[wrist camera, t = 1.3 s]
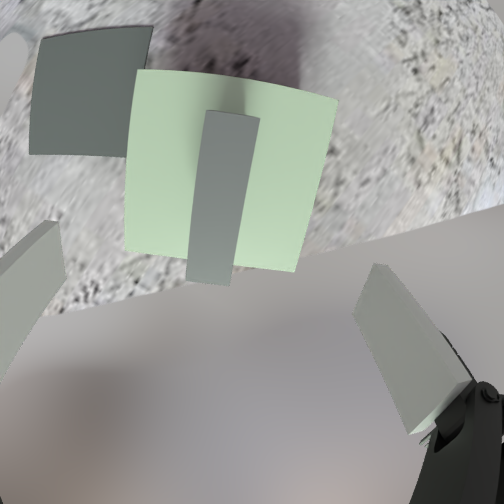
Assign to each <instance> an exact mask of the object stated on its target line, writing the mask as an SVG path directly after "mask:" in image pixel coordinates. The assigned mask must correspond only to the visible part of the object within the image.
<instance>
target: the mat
mask: <svg viewBox="0 0 504 504" xmlns="http://www.w3.org/2000/svg"><path fill="white" fill-rule="evenodd" d="M152 31H153V27H129V28H114V29H103V30H94V31H86V32H79V33H73V34H67V35H61V36H56V37H51V38H47V39H42V40H41V43H40V48H39V53H38V58H37V63H36V69H35V76H34V83H33V91H32V100H31V112H30V129H29V155H89V156H110V157H125V158H127V147H128V136H129V126H130V117H131V109H132V102H133V95H134V88H135V82H136V76H137V70H138V69H145V64H146V59H147V54H148V49H149V44H150V40H151V35H152Z"/></svg>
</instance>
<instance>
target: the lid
mask: <svg viewBox="0 0 504 504" xmlns="http://www.w3.org/2000/svg"><path fill="white" fill-rule="evenodd" d="M338 102H339V100H336V99H332V98H329V97H325V96H322V95H318V94H315V93H311V92H307V91H303V90H299V89H295V88H290V87H286V86H281V85H277V84H272V83H267V82H262V81H256V80H251V79H245V78H238V77H232V76H225V75H217V74H208V73H198V72H187V71H173V70H146V69H138V70H137V76H136V82H135V88H134V95H133V102H132V109H131V117H130V126H129V136H128V147H127V160H126V177H125V208H124V237H125V251H131V252H138V253H146V254H153V255H161V256H168V257H176V258H183V259H187V268H186V281H191V282H199V283H207V284H215V285H224V286H230V279H231V274H232V269H233V265H238V266H247V267H255V268H263V269H272V270H280V271H289V272H295V268H296V265H297V262H298V258H299V255H300V251H301V248H302V244H303V241H304V237H305V234H306V230H307V227H308V223H309V219H310V216H311V212H312V208H313V205H314V201H315V197H316V193H317V189H318V186H319V182H320V178H321V174H322V170H323V166H324V162H325V158H326V154H327V150H328V145H329V141H330V137H331V133H332V128H333V124H334V120H335V115H336V111H337V106H338Z"/></svg>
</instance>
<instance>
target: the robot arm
mask: <svg viewBox="0 0 504 504" xmlns="http://www.w3.org/2000/svg"><path fill="white" fill-rule="evenodd" d="M66 279H67V278H66V272H65V266H64V260H63V252H62V245H61V236H60V227H59V222H57V221H48V220H45V221H43V222H42V223H41V224H39V225H38V226H37V227H36V228H35V229H33V230H32V231H31V232H30V233H29V234H27V235H26V236H25V237H24V238H23V239H21V240H20V241H19V242H18V243H17V244H16V245H15V246H13V247H12V248H11V249H10V250H9V251H8V252H7V253H6V254H5V255H3V256H2V257H1V258H0V383H1V381H2V379H3V377H4V375H5V374H6V372H7V370H8V368H9V366H10V364H11V363H12V361H13V359H14V357H15V356H16V354H17V352H18V351H19V349H20V347H21V346H22V344H23V342H24V341H25V339H26V337H27V336H28V334H29V333H30V331H31V330H32V328H33V326H34V325H35V323H36V322H37V320H38V319H39V317H40V316H41V314H42V313H43V311H44V310H45V308H46V307H47V306H48V304H49V303H50V301H51V300H52V298H53V297H54V296H55V294H56V293H57V291H58V290H59V289H60V287H61V286H62V285H63V283H64V282H65V281H66ZM352 315H353V317H354V319H355V321H356V323H357V325H358V327H359V329H360V331H361V333H362V335H363V337H364V339H365V341H366V343H367V345H368V347H369V349H370V351H371V353H372V355H373V358H374V360H375V362H376V364H377V366H378V368H379V370H380V372H381V375H382V377H383V379H384V381H385V383H386V385H387V388H388V390H389V392H390V394H391V397H392V399H393V401H394V403H395V406H396V408H397V410H398V412H399V415H400V417H401V419H402V422H403V424H404V426H405V429H406V431H407V434H408V435H410V434H413V433H417V432H420V431H424V430H425V429H426V428H427V427H428V426H429V425H430V424H431V423H432V422H433V421H435V423H436V425H437V427H436V428H434V429H433V430H432V431H431V432H430V433H429V434H428V435H427V436H426V437H424V438H423V439H422V440H421V442H420V443H419V445H422V444H424V443H425V442H426V441H427V440H428V439H430V441H429V443H428V444H427V445H425V447H426V448H427V452H426V455H425V459H424V462H423V466H422V469H421V472H420V475H419V478H418V481H417V484H416V487H415V490H414V492H413V495H412V498H411V500H410V503H409V504H504V443H502V436H503V435H504V395H502V394H499V393H498V391H497V390H496V389H495V388H494V386H492V385H491V384H489V383H487V382H484V381H482V382H479V383H477V382H476V380H475V379H474V377H473V376H472V374H471V373H470V371H469V369H468V368H467V366H466V365H465V363H464V362H463V360H462V359H461V357H460V356H459V355H457V352H456V350H455V349H454V348H452V344H451V343H450V342H449V340H448V339H447V337H446V336H445V335H444V334H443V333H441V332H440V331H439V330H438V328H437V327H436V326H435V324H434V323H433V322H432V320H431V319H430V318H429V316H428V315H427V314H426V312H425V311H424V310H423V308H422V307H421V306H420V304H419V303H418V302H417V301H416V299H415V298H414V297H413V296H412V294H411V293H410V292H409V291H408V289H407V288H406V287H405V285H404V284H403V283H402V282H401V281H400V279H399V278H398V277H397V276H396V274H395V273H394V272H393V271H392V270H391V268H390V267H389V266H388V265H383V264H376V263H374V264H373V266H372V268H371V271H370V273H369V276H368V278H367V281H366V283H365V285H364V288H363V290H362V293H361V295H360V297H359V299H358V302H357V304H356V306H355V308H354V311H353V312H352ZM0 504H3V502H2V500H1V497H0Z"/></svg>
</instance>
